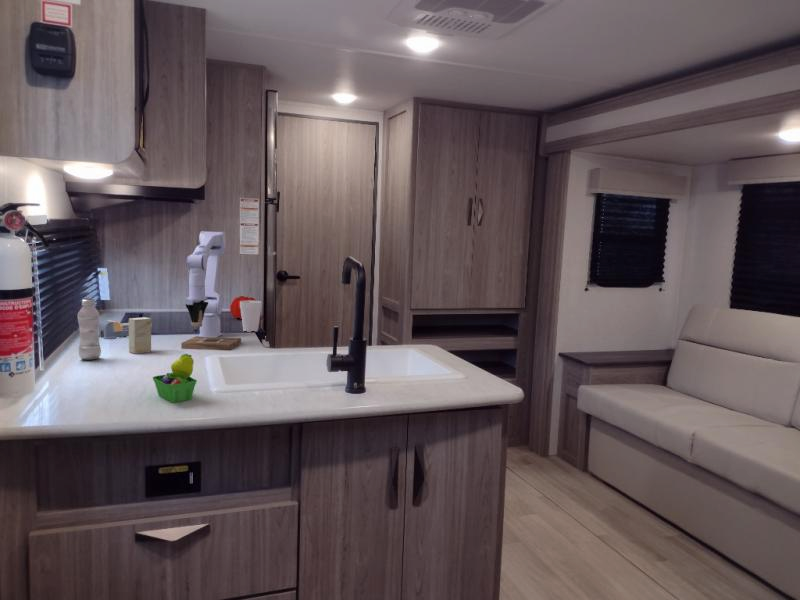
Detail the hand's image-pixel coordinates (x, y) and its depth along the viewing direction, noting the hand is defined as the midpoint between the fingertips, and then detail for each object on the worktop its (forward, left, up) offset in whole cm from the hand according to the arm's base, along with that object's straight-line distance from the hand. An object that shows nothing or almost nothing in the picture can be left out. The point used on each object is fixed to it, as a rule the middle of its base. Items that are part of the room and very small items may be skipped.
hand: (197, 321), depth 216 cm
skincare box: (+17, -14, -9) cm, 24 cm away
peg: (0, 0, -2) cm, 2 cm away
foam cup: (-34, +10, -9) cm, 37 cm away
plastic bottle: (+31, -24, -9) cm, 40 cm away
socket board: (+1, +6, -9) cm, 11 cm away
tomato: (-66, -2, -9) cm, 67 cm away
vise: (-12, -34, -9) cm, 38 cm away
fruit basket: (+68, +21, -9) cm, 72 cm away
